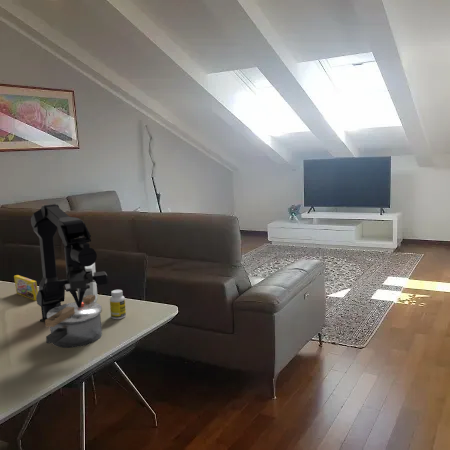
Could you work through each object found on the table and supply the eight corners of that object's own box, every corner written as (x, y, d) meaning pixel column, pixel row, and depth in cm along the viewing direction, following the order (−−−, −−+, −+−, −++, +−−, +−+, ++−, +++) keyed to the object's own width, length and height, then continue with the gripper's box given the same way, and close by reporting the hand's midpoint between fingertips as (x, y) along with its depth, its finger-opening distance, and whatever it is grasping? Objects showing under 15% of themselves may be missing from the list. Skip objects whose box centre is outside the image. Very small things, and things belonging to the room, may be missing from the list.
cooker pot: (29, 355, 143) (26, 330, 142) (72, 323, 168) (70, 301, 166) (76, 358, 140) (74, 333, 138) (114, 325, 164) (112, 303, 163)
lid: (70, 300, 166) (69, 292, 166) (114, 303, 162) (113, 295, 161) (25, 327, 143) (24, 318, 143) (75, 331, 139) (74, 322, 138)
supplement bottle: (122, 319, 169) (120, 293, 167) (108, 319, 170) (106, 293, 168) (128, 314, 174) (126, 289, 172) (114, 313, 175) (112, 288, 174)
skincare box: (82, 299, 193) (79, 263, 190) (99, 298, 193) (95, 262, 190) (78, 306, 184) (74, 268, 182) (95, 305, 185) (91, 267, 182)
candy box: (15, 294, 203) (13, 275, 202) (20, 292, 205) (18, 274, 204) (34, 301, 193) (32, 281, 192) (39, 299, 195) (37, 280, 193)
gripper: (43, 270, 135) (48, 320, 139) (109, 262, 142) (112, 310, 145) (43, 260, 146) (47, 308, 149) (104, 254, 152) (107, 299, 155)
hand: (79, 306), depth 149 cm, fingers closed
